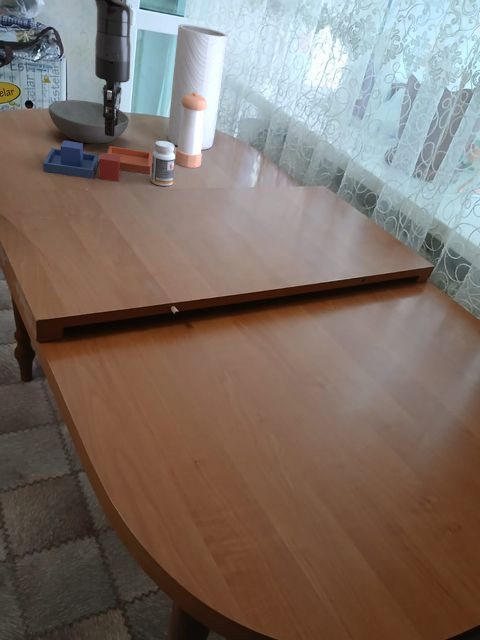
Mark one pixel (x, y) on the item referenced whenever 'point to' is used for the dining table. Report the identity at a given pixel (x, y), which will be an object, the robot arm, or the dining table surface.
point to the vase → (197, 77)
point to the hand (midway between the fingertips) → (111, 130)
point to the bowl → (84, 121)
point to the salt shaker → (191, 131)
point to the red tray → (132, 159)
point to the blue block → (72, 153)
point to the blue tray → (54, 166)
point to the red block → (109, 167)
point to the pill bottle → (163, 164)
